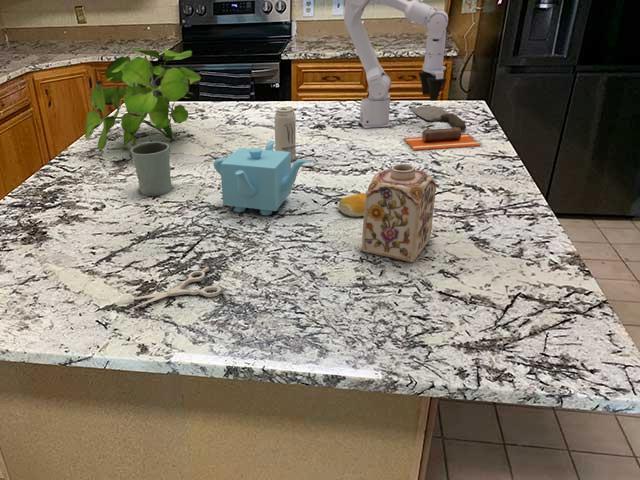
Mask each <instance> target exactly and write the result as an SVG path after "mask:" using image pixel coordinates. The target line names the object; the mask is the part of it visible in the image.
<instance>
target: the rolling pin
mask: <svg viewBox="0 0 640 480" xmlns="http://www.w3.org/2000/svg"><path fill="white" fill-rule="evenodd" d="M461 134H462V130H461V129H460V128H455V127H446V128H435V129H424V130H422V132H421V137H422V140H423V142H433V141H447V140H459V139H460V138H461Z"/></svg>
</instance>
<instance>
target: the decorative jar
mask: <svg viewBox="0 0 640 480" xmlns="http://www.w3.org/2000/svg"><path fill="white" fill-rule="evenodd" d="M436 190H437V182H436V181H435V180H434V179H433V177H432V176H431V175H429V174H428V173H426V172H425V171H424V170H421V169H416V167H415V165H413V164H408V163H398V164H395V165H392V166H391V168H387V169H382V170H380V171H378V172H377V173H375V174H374V176H373V177H372V179H371V181H370V183H369V185H368V187H367V190H366V191H365V193H366V198H365V208H364V216H363V221H362V238H361V251H362V252H364V253H368V254H373V255H377V256H382V257H386V258H390V259H395V260H399V261H404V262H407V263H414V262H415V260H416V259H417V258H418V257H419V255H420V254H422V253H421V252H422V251H423V250H424V249H425V247H426V246H427V244H428V243H429V242H430V240H431V236H432V235H431V234H432V226H433V220H434V219H433V218H434V209H435V203H436V202H435V201H436Z"/></svg>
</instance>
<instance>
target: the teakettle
mask: <svg viewBox="0 0 640 480" xmlns="http://www.w3.org/2000/svg"><path fill="white" fill-rule="evenodd" d="M274 146H275V140H270V141H268V142H266V146H265V149H263V148H261V147H252V148H245V147H238V148H237V149H235V151H234V152H232V153H231V154H230V155H228V157H219V158H216V159H214V160H213V167H214V169H215V171H216V172H217V173H218V174H219V176H220V182H221V194H222V206H228V207H229V206H230V207H234V208H233V211H234V212H236V213H243V212H244V211H246V208H247V209H252V210H253V209H254V210H259V213H260V215H262V216H270V215H272V214H273V212H277V210H279V208H280V207H281V206H282V205H283V203H284V202H285V201H286V200H287V198H288V197H289V196H290V195H291V194H292V187H293V185H294V184H295V181H296V179H297V176H298V173H299V170H300V168H301V166H303V165H305V164H306V163H308V162H310V159H302V158H301V159H297V160H295V161H294V162H293V163H292V161H291V153H290V152H284V151H275V150H274ZM291 164H292V165H291Z"/></svg>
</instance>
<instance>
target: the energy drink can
mask: <svg viewBox="0 0 640 480" xmlns="http://www.w3.org/2000/svg"><path fill="white" fill-rule="evenodd" d="M296 133H297V131H296V113H295V111H294V107H291V106H281V107H278V108H276V112H275V114H274V151H284V152H290V153H291V162H293V161H294V159H295V158H296V156H297V155H296V151H297V150H296V149H297V148H296V147H297V146H296V144H297V143H296V139H297V138H296V136H297V135H296Z"/></svg>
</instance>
